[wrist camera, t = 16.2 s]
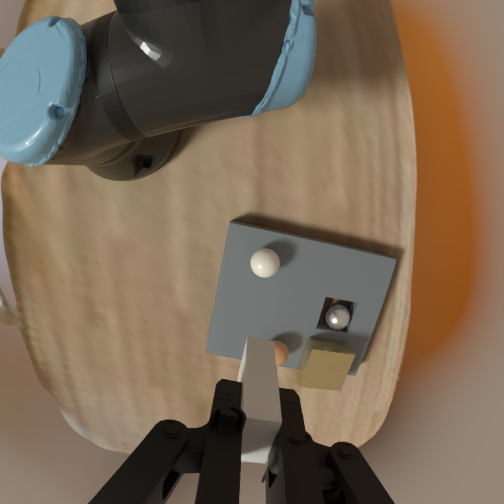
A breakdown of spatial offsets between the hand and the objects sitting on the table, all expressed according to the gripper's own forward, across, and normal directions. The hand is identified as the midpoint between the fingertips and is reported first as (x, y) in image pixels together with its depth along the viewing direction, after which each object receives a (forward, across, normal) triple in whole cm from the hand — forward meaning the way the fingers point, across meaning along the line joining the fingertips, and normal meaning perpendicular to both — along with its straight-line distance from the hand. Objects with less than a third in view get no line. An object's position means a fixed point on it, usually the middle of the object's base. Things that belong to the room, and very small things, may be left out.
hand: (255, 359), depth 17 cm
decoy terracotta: (+20, +5, -11) cm, 24 cm away
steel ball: (+23, +12, -6) cm, 26 cm away
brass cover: (+22, +12, -12) cm, 27 cm away
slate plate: (+24, +7, -5) cm, 26 cm away
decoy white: (+20, +1, 0) cm, 20 cm away
